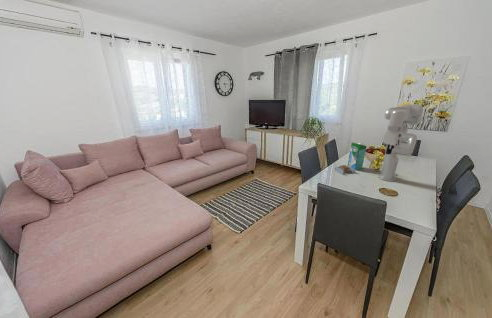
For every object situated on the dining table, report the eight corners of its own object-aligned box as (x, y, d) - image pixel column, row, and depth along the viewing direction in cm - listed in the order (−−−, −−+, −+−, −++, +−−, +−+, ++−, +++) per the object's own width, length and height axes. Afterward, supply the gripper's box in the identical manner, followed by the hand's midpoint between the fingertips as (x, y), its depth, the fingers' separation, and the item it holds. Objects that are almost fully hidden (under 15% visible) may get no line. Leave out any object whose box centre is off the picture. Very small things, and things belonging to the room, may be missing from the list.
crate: (344, 170, 185) (345, 165, 183) (348, 172, 179) (349, 167, 178) (338, 170, 183) (339, 165, 182) (343, 173, 178) (344, 167, 176)
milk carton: (362, 168, 187) (367, 143, 179) (355, 170, 184) (360, 144, 176) (354, 165, 195) (358, 141, 187) (347, 167, 192) (351, 142, 183)
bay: (346, 169, 186) (347, 165, 185) (354, 173, 177) (355, 169, 176) (334, 170, 183) (335, 166, 182) (342, 174, 174) (343, 170, 173)
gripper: (409, 130, 130) (402, 156, 136) (388, 126, 144) (383, 150, 150) (400, 130, 128) (393, 157, 134) (380, 127, 142) (375, 151, 148)
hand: (388, 153), depth 142 cm, fingers closed
